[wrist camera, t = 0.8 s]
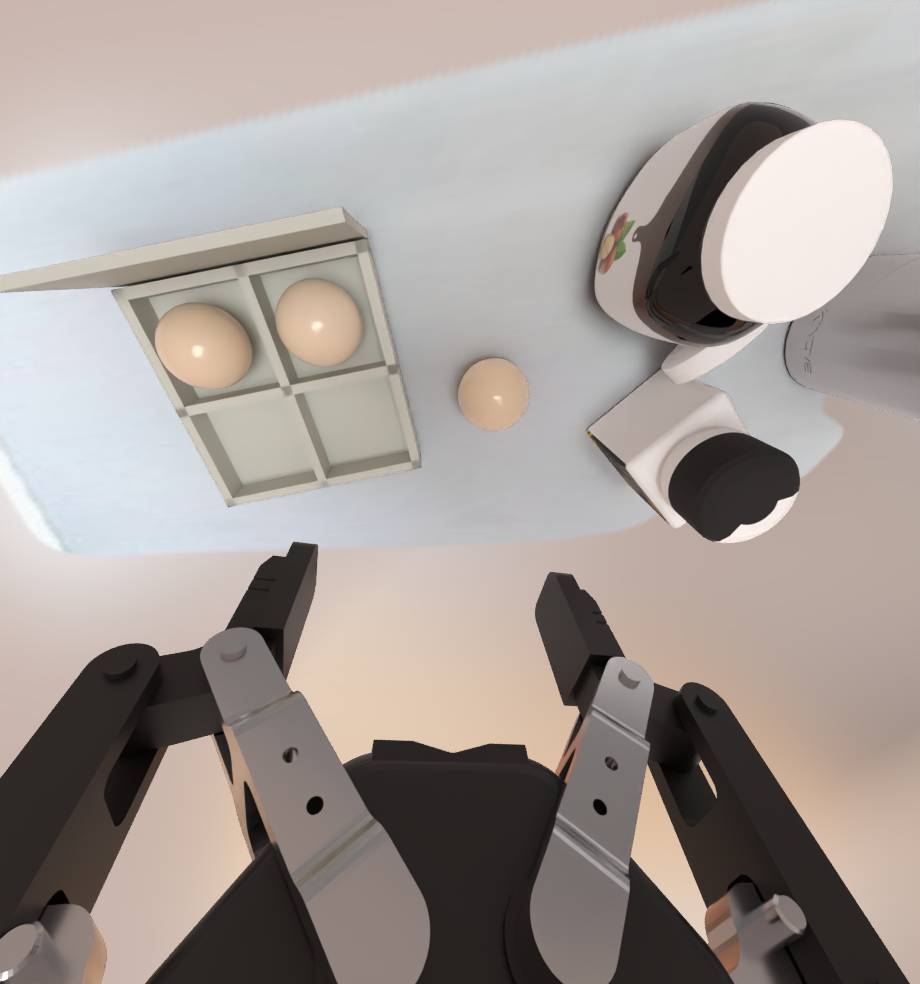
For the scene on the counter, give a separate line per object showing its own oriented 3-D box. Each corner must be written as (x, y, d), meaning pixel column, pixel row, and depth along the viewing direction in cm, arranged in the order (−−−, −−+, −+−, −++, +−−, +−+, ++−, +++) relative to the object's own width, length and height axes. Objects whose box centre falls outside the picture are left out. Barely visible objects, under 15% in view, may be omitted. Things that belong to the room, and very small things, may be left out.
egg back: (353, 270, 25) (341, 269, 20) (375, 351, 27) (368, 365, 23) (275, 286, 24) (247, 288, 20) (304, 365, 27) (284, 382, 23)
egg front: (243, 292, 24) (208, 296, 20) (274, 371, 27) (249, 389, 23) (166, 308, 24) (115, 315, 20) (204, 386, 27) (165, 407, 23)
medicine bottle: (584, 429, 32) (668, 507, 21) (662, 365, 30) (796, 415, 19) (629, 485, 35) (722, 577, 24) (702, 430, 33) (838, 504, 22)
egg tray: (365, 229, 24) (341, 206, 16) (420, 453, 31) (423, 519, 23) (131, 276, 24) (-18, 279, 16) (241, 490, 31) (179, 569, 23)
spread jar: (644, 124, 23) (827, 8, 13) (789, 207, 26) (1034, 166, 16) (554, 335, 28) (634, 371, 18) (683, 386, 31) (816, 441, 21)
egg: (516, 346, 28) (534, 358, 24) (523, 411, 30) (540, 433, 26) (449, 359, 28) (455, 374, 24) (461, 424, 30) (468, 448, 26)
